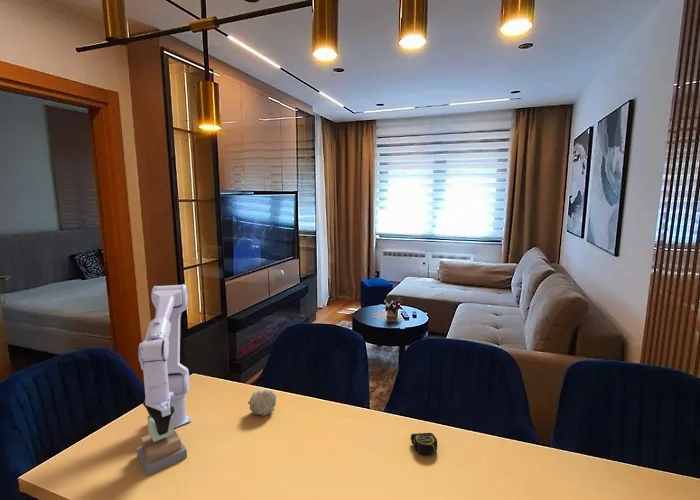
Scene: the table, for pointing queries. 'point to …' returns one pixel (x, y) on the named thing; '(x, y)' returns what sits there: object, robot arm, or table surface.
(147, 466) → the tower base
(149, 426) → the green cube
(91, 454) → the table surface
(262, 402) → the garlic bulb
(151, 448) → the tower top
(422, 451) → the tape measure
